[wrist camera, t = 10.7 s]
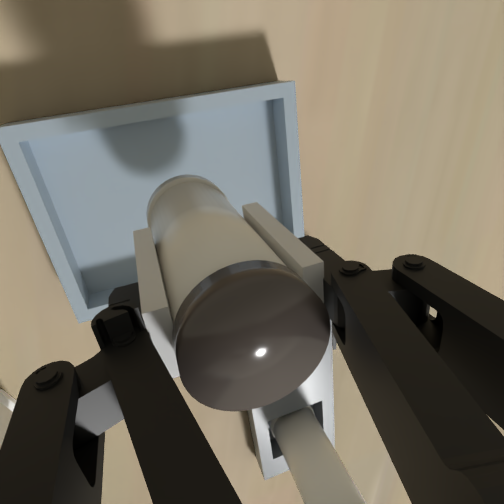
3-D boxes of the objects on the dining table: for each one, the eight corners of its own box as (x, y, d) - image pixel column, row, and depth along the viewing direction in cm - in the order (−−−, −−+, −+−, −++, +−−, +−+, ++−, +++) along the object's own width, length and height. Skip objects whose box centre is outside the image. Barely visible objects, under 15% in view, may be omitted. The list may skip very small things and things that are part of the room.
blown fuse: (157, 259, 21) (195, 431, 11) (136, 183, 19) (160, 308, 9) (232, 241, 22) (331, 381, 12) (220, 167, 20) (329, 260, 10)
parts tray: (81, 302, 25) (78, 323, 23) (6, 122, 20) (-7, 128, 17) (291, 245, 29) (305, 258, 27) (278, 80, 23) (294, 80, 21)
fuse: (269, 437, 37) (328, 573, 27) (265, 406, 35) (327, 542, 25) (310, 420, 38) (381, 545, 28) (308, 390, 36) (384, 513, 26)
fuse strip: (256, 458, 39) (264, 480, 37) (223, 286, 28) (232, 303, 26) (323, 430, 41) (334, 450, 38) (315, 260, 30) (330, 274, 28)
